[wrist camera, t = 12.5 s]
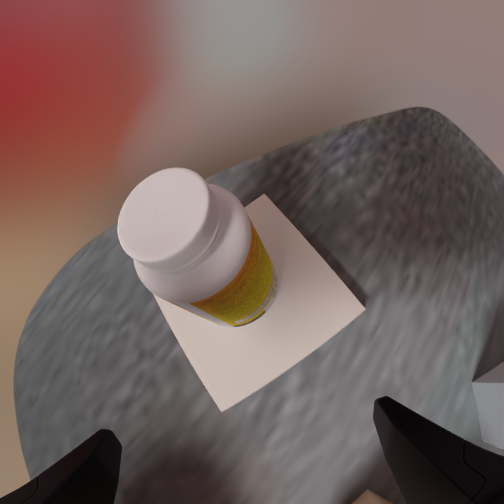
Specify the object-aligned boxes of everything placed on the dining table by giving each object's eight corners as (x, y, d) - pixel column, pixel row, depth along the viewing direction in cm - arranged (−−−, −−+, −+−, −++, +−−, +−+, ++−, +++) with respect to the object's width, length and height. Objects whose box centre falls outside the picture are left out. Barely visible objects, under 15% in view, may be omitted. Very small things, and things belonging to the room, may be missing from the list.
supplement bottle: (285, 252, 20) (248, 147, 10) (270, 335, 18) (209, 297, 8) (209, 244, 21) (130, 155, 12) (190, 320, 19) (83, 272, 10)
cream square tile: (363, 312, 18) (365, 309, 17) (226, 410, 17) (221, 412, 16) (266, 200, 23) (264, 193, 22) (153, 284, 22) (146, 281, 21)
